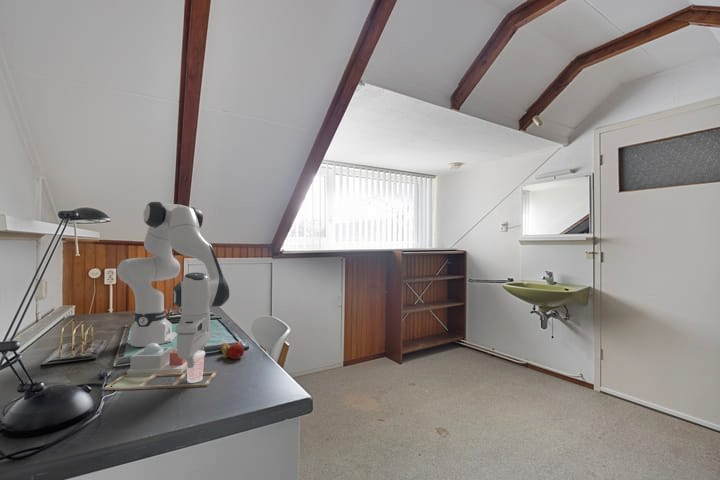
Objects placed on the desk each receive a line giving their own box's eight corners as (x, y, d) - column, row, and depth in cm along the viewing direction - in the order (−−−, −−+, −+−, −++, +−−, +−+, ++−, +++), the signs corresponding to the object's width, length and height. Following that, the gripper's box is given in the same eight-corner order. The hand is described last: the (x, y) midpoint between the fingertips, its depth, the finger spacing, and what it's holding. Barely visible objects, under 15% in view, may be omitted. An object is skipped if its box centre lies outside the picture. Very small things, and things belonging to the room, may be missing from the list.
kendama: (212, 355, 144) (226, 360, 130) (215, 339, 145) (229, 343, 131) (231, 354, 148) (246, 360, 135) (233, 339, 150) (248, 343, 136)
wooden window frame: (123, 376, 117) (123, 374, 117) (217, 373, 120) (217, 371, 120) (102, 390, 106) (102, 388, 106) (206, 386, 109) (206, 384, 109)
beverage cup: (184, 385, 110) (184, 341, 110) (185, 377, 116) (185, 336, 116) (204, 382, 113) (205, 339, 113) (205, 375, 118) (205, 335, 118)
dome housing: (144, 362, 130) (145, 346, 130) (194, 361, 132) (194, 345, 132) (127, 374, 118) (127, 357, 118) (181, 372, 120) (181, 355, 120)
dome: (147, 358, 128) (147, 340, 128) (166, 358, 129) (167, 340, 129) (137, 365, 121) (137, 346, 121) (158, 365, 122) (158, 345, 122)
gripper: (197, 315, 124) (196, 353, 124) (172, 329, 104) (172, 375, 104) (215, 314, 125) (214, 352, 125) (194, 329, 105) (193, 374, 104)
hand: (195, 363), depth 114 cm, fingers closed on beverage cup, 6 cm apart
